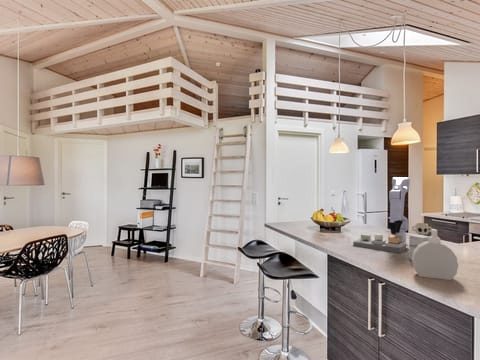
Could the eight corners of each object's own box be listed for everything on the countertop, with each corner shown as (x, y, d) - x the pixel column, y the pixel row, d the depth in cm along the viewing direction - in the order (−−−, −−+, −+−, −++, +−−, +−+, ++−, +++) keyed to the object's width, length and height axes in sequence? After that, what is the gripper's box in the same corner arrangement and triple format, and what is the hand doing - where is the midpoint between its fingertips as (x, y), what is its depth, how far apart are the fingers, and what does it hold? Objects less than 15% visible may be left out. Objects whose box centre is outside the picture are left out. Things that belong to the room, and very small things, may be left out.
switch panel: (361, 242, 195) (361, 235, 195) (405, 248, 178) (405, 241, 178) (353, 245, 185) (353, 238, 185) (399, 252, 167) (399, 245, 167)
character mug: (412, 244, 190) (413, 223, 190) (410, 242, 197) (411, 222, 197) (432, 245, 186) (433, 224, 186) (430, 243, 193) (430, 223, 193)
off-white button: (376, 238, 184) (376, 233, 184) (383, 239, 181) (383, 234, 181) (373, 239, 180) (373, 234, 180) (381, 240, 177) (381, 235, 177)
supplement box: (408, 259, 154) (408, 235, 154) (417, 257, 157) (418, 233, 157) (422, 263, 147) (422, 237, 147) (431, 261, 150) (432, 236, 150)
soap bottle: (454, 277, 126) (455, 230, 126) (458, 281, 121) (458, 232, 121) (411, 272, 132) (411, 227, 132) (413, 275, 127) (413, 229, 127)
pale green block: (362, 238, 192) (362, 233, 192) (370, 239, 189) (370, 234, 189) (360, 238, 190) (360, 234, 190) (368, 240, 187) (369, 235, 187)
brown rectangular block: (393, 239, 180) (393, 234, 180) (402, 240, 177) (402, 235, 177) (388, 242, 173) (388, 236, 173) (397, 243, 170) (397, 238, 170)
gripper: (391, 209, 183) (391, 231, 183) (384, 210, 172) (384, 234, 173) (404, 209, 178) (404, 232, 179) (397, 211, 168) (397, 235, 168)
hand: (395, 233), depth 175 cm, fingers open, 7 cm apart
